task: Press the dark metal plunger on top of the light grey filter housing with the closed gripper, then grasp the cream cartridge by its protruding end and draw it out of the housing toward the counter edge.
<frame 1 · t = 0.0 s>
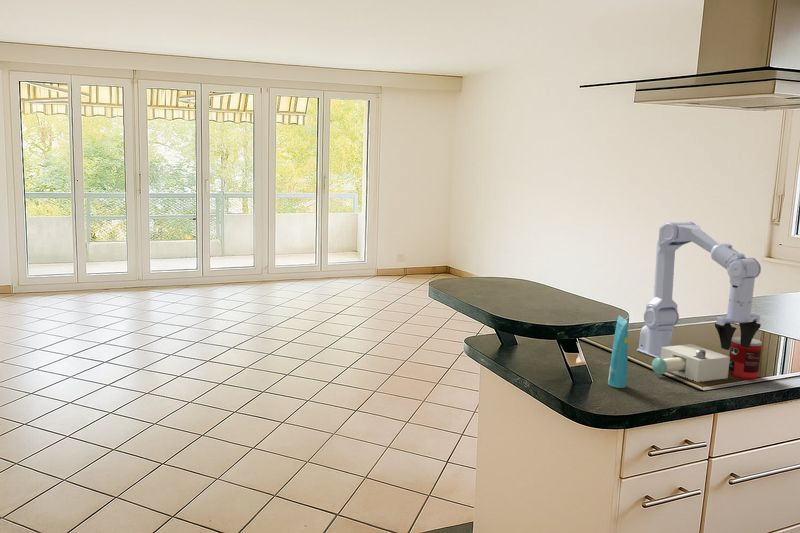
hand: (735, 347, 175), 10 cm above the table, tool pointing down, fingers open, 7 cm apart
tube: (617, 386, 171), on the table
cartridge: (680, 363, 182), point 3 cm above the table, slide at 0.0 cm
canned food: (742, 376, 182), on the table
housing: (692, 372, 184), on the table
plunger: (700, 357, 178), point 6 cm above the table, slide at 0.0 cm
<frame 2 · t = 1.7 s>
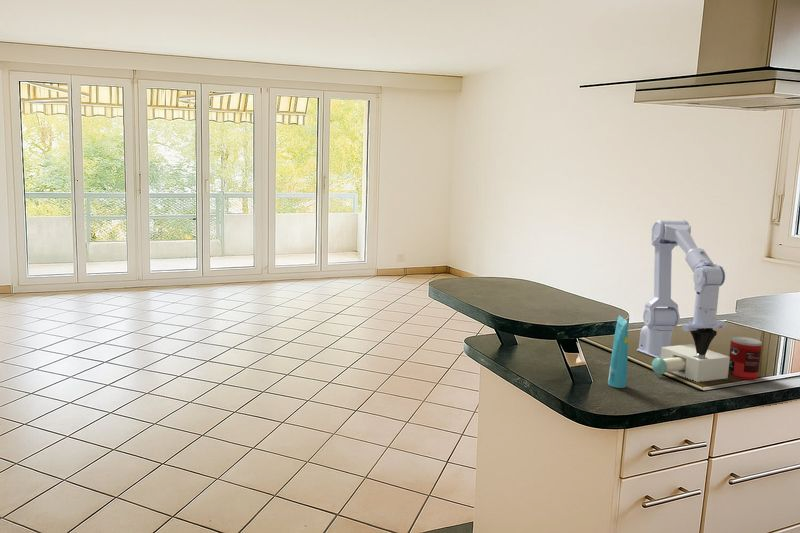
hand: (700, 353, 178), 7 cm above the table, tool pointing down, fingers closed, pressing on plunger
plunger: (700, 360, 178), point 5 cm above the table, slide at 0.9 cm, touching gripper
everything else where it was.
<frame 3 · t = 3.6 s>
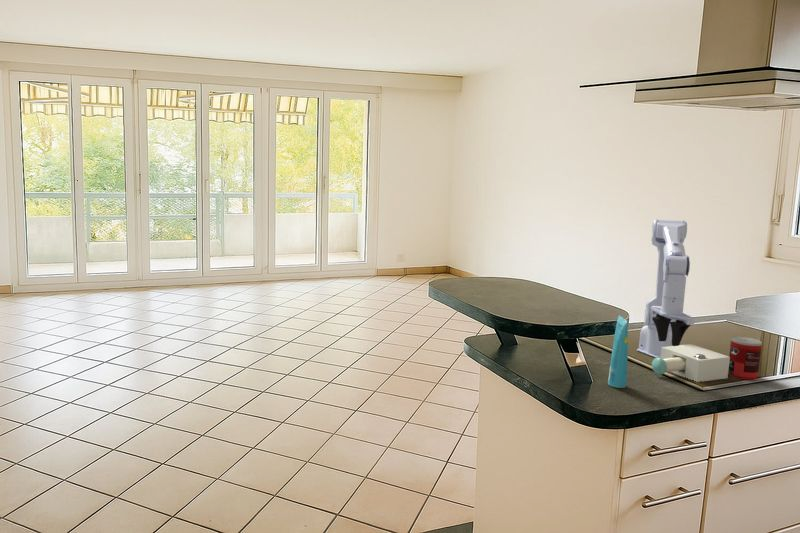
hand: (668, 343, 179), 10 cm above the table, tool pointing down, fingers open, 4 cm apart
plunger: (700, 361, 178), point 5 cm above the table, slide at 1.3 cm
everything else where it was.
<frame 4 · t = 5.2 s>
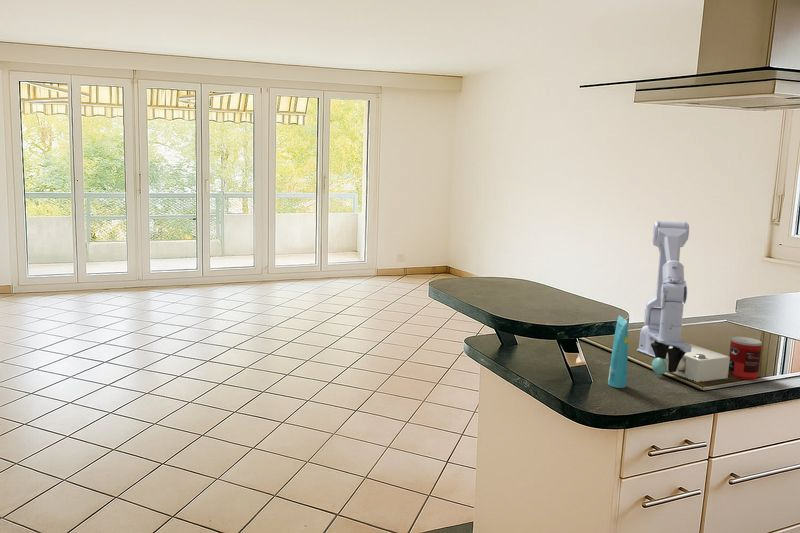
hand: (666, 369, 180), 2 cm above the table, tool pointing down, fingers closed on cartridge, 4 cm apart
cartridge: (680, 363, 182), point 3 cm above the table, slide at 0.0 cm, touching gripper
everything else where it was.
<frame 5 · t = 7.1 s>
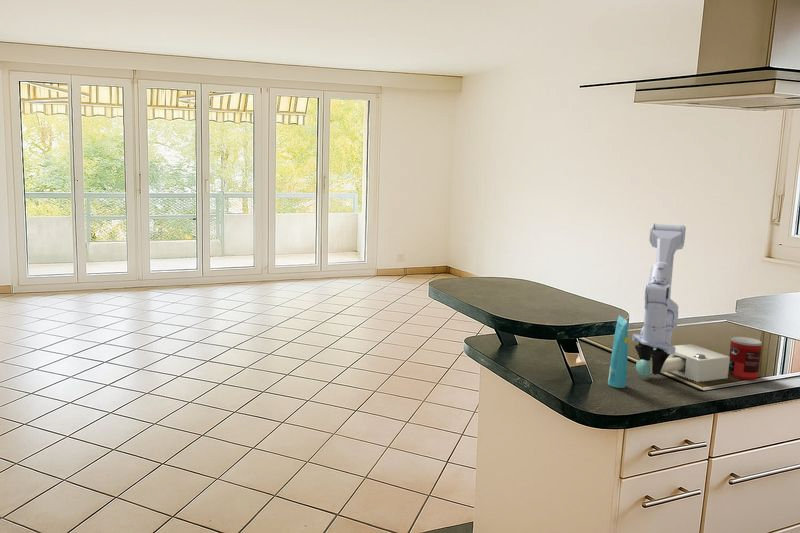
hand: (650, 371, 178), 2 cm above the table, tool pointing down, fingers closed on cartridge, 4 cm apart
cartridge: (664, 365, 180), point 3 cm above the table, slide at 5.9 cm, touching gripper
everything else where it was.
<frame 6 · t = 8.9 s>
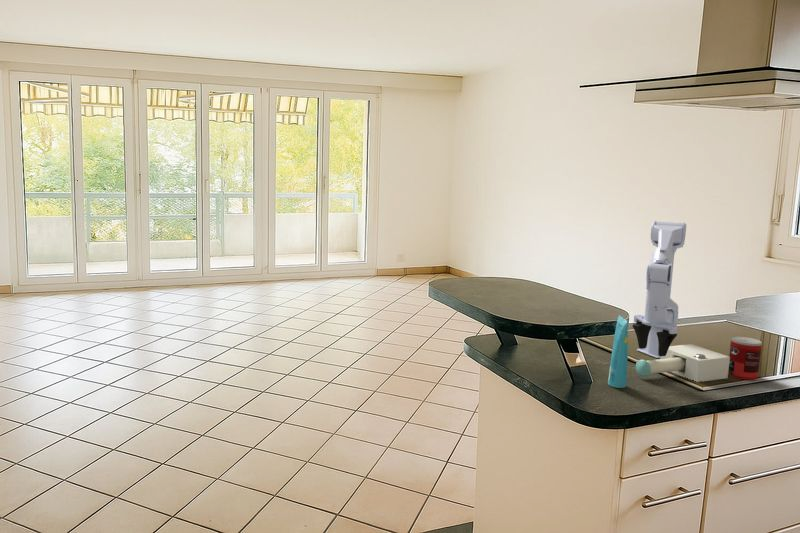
hand: (652, 351, 177), 8 cm above the table, tool pointing down, fingers open, 7 cm apart
cartridge: (664, 365, 180), point 3 cm above the table, slide at 6.0 cm
everything else where it was.
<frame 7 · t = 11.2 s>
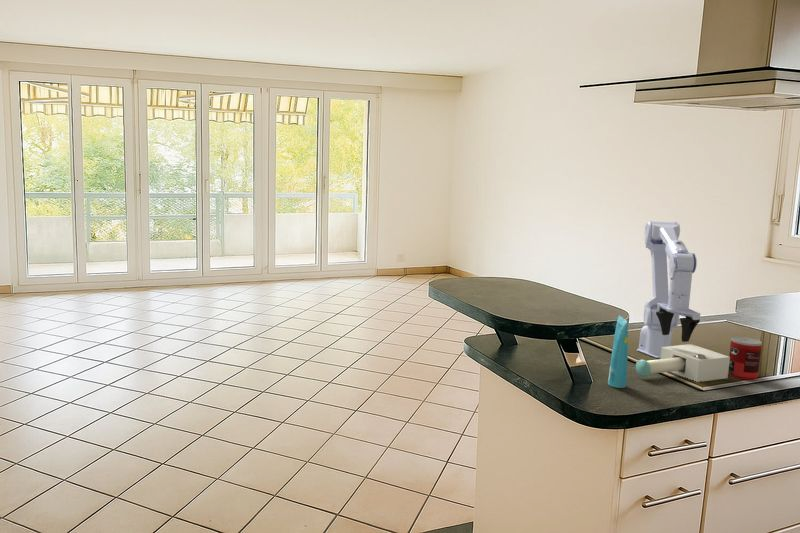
hand: (675, 338, 185), 10 cm above the table, tool pointing down, fingers open, 7 cm apart
nothing on the table moved.
at the end: cartridge slide at 6.0 cm; plunger slide at 1.3 cm; the gripper is holding nothing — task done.
